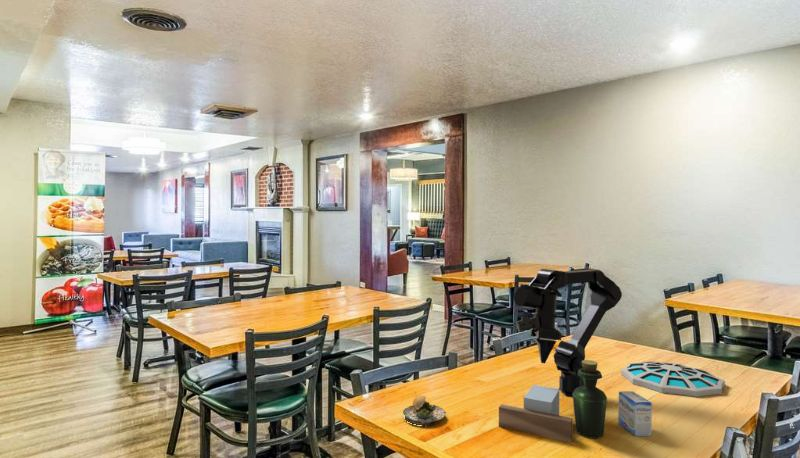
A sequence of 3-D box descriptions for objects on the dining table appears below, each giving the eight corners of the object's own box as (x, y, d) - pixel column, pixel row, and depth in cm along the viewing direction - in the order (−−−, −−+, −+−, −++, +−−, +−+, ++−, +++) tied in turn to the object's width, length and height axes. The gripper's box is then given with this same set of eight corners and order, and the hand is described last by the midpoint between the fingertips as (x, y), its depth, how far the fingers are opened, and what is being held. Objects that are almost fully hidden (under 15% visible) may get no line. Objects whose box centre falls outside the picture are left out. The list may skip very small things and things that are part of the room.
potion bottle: (579, 440, 112) (580, 367, 112) (567, 425, 121) (567, 357, 120) (612, 440, 112) (613, 367, 112) (598, 425, 121) (598, 357, 120)
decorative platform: (624, 389, 148) (624, 374, 148) (618, 364, 175) (618, 351, 175) (738, 403, 136) (738, 387, 136) (713, 374, 163) (713, 360, 163)
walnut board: (501, 422, 122) (501, 404, 122) (572, 438, 113) (572, 418, 113) (498, 426, 120) (498, 407, 120) (570, 442, 111) (570, 421, 111)
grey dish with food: (433, 431, 118) (433, 402, 117) (394, 421, 124) (394, 394, 124) (453, 415, 128) (453, 388, 128) (416, 406, 134) (416, 381, 134)
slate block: (533, 412, 129) (533, 384, 129) (559, 418, 126) (559, 389, 125) (523, 428, 119) (523, 397, 119) (551, 434, 116) (551, 402, 116)
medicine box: (617, 423, 122) (617, 390, 122) (633, 422, 122) (633, 390, 122) (635, 436, 114) (635, 402, 114) (652, 436, 115) (652, 401, 114)
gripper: (515, 308, 149) (512, 357, 146) (522, 306, 131) (519, 362, 128) (550, 312, 148) (548, 361, 145) (562, 310, 129) (560, 367, 127)
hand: (543, 363), depth 136 cm, fingers closed
